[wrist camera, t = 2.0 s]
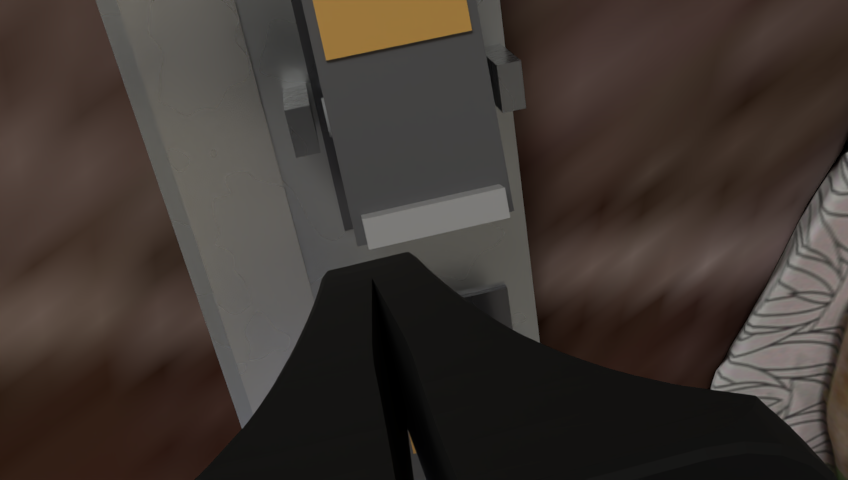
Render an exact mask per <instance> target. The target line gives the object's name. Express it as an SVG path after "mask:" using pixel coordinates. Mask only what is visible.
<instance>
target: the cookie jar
mask: <svg viewBox="0 0 848 480" xmlns="http://www.w3.org/2000/svg"><path fill="white" fill-rule="evenodd" d="M710 390H717V391H725V392H732V393H740V394H747V395H755V396H757V397H758V398H759V399H760V400H761V401H762V402H763V403H764V404H765V405H766V406H767V407H769V408H770V409H771V410H772V411H773V412H774V413H775V414H777V415H778V416H779V417H780V418H781V419H782V420H783V421H785V422H786V423H787V424H788V425H789V426H790V427H791V428H792V429H793V430H794V431H795V432H796V433H797V434H798V435H799V436H800V437H801V438H802V439H803V440H804V441H805V442H806V443H807V444H808V445H809V446H810V448H811V449H812V450H813V451H814V452H815V453H816V454H817V455H818V456H819V457H820V459H821V460H822V461H823V462H824V463H825V464H826V465H827V466H828V467H829V468H830V469H831V471H832V472H833V473H834V474H835V476H836V478H837V480H848V139H847V141H846V144H845V146H844V148H843V150H842V152H841V153H840V155H839V157H838V158H837V160H836V161H835V163H834V164H833V166H832V167H831V169H830V170H829V172H828V174H827V175H826V177H825V178H824V180H823V181H822V183H821V184H820V186H819V187H818V189H817V190H816V192H815V194H814V195H813V197H812V198H811V200H810V201H809V203H808V205H807V207H806V209H805V210H804V212H803V214H802V216H801V218H800V220H799V222H798V224H797V226H796V228H795V230H794V232H793V234H792V236H791V238H790V240H789V242H788V244H787V246H786V248H785V250H784V252H783V254H782V256H781V258H780V260H779V262H778V264H777V266H776V268H775V270H774V272H773V274H772V276H771V278H770V280H769V282H768V283H767V285H766V287H765V289H764V291H763V292H762V294H761V296H760V297H759V299H758V301H757V302H756V304H755V306H754V308H753V310H752V311H751V313H750V315H749V317H748V319H747V321H746V322H745V324H744V325H743V327H742V329H741V330H740V332H739V334H738V335H737V337H736V338H735V340H734V342H733V343H732V345H731V347H730V349H729V351H728V353H727V355H726V357H725V359H724V361H723V362H722V363H721V365H720V366H719V367H718V369H717V370H716V372H715V375H714V378H713V381H712V385H711V388H710Z"/></svg>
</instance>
